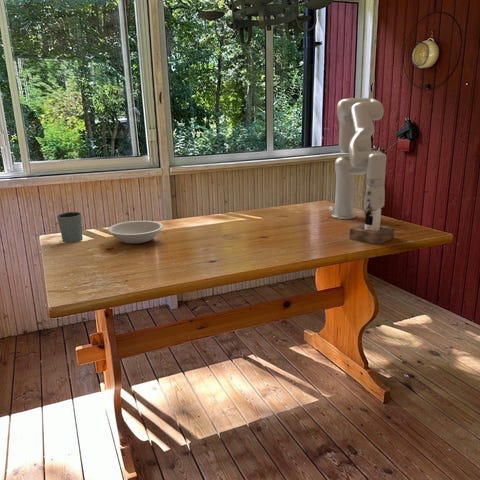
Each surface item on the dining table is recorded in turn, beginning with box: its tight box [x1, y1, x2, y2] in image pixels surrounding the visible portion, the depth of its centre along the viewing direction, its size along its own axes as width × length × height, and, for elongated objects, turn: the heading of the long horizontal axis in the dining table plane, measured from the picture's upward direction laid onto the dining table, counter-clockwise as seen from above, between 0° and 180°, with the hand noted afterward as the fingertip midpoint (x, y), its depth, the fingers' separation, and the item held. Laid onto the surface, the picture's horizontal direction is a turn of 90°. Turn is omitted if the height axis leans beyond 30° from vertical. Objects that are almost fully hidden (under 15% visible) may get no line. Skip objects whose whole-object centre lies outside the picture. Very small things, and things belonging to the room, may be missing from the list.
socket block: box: [348, 222, 395, 246], centre depth 198 cm, size 14×14×4 cm
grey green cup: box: [56, 211, 83, 244], centre depth 201 cm, size 10×10×12 cm
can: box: [365, 207, 382, 231], centre depth 197 cm, size 6×6×12 cm
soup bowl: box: [107, 220, 164, 245], centre depth 198 cm, size 24×24×7 cm
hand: (372, 222), depth 197 cm, fingers closed on can, 6 cm apart
